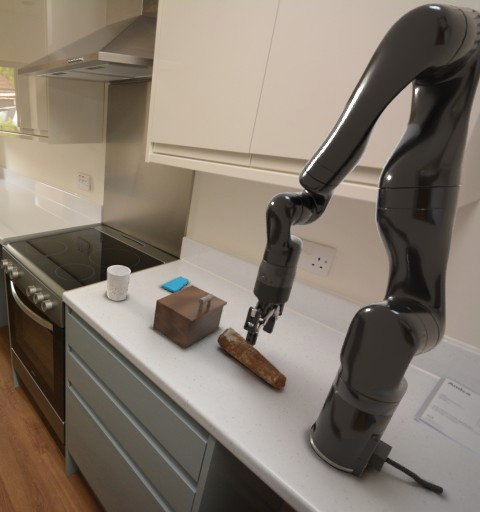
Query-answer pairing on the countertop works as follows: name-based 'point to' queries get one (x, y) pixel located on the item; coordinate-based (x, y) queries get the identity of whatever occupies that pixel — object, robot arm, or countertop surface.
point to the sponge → (175, 284)
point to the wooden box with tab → (191, 303)
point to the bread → (251, 357)
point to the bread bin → (184, 326)
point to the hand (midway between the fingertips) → (258, 337)
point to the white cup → (117, 282)
